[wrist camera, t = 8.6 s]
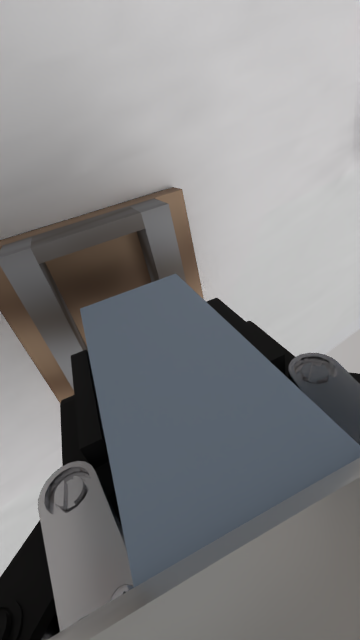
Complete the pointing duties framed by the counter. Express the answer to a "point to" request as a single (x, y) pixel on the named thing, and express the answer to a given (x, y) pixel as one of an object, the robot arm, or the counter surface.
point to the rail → (89, 273)
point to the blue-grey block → (197, 423)
